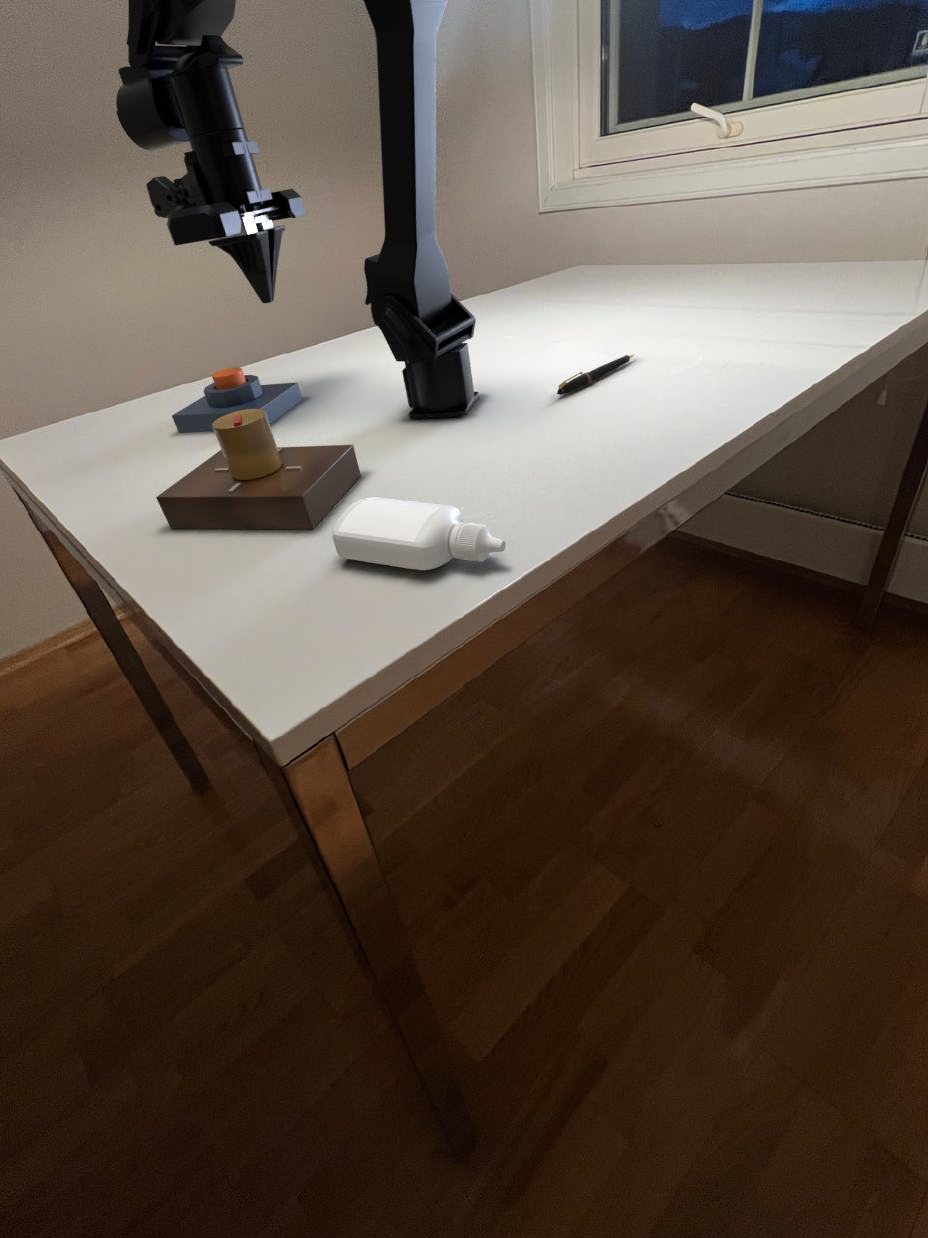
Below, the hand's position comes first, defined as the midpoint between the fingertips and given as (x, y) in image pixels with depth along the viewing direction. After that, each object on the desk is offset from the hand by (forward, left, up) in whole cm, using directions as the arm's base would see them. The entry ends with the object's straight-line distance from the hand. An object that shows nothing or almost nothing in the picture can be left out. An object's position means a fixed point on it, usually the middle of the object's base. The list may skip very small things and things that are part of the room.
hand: (268, 302), depth 73 cm
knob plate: (-11, +27, -12) cm, 31 cm away
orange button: (+6, +4, -8) cm, 11 cm away
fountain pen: (-37, -2, -12) cm, 39 cm away
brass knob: (-11, +27, -9) cm, 30 cm away
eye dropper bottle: (-23, +34, -10) cm, 43 cm away
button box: (+6, +4, -12) cm, 14 cm away
